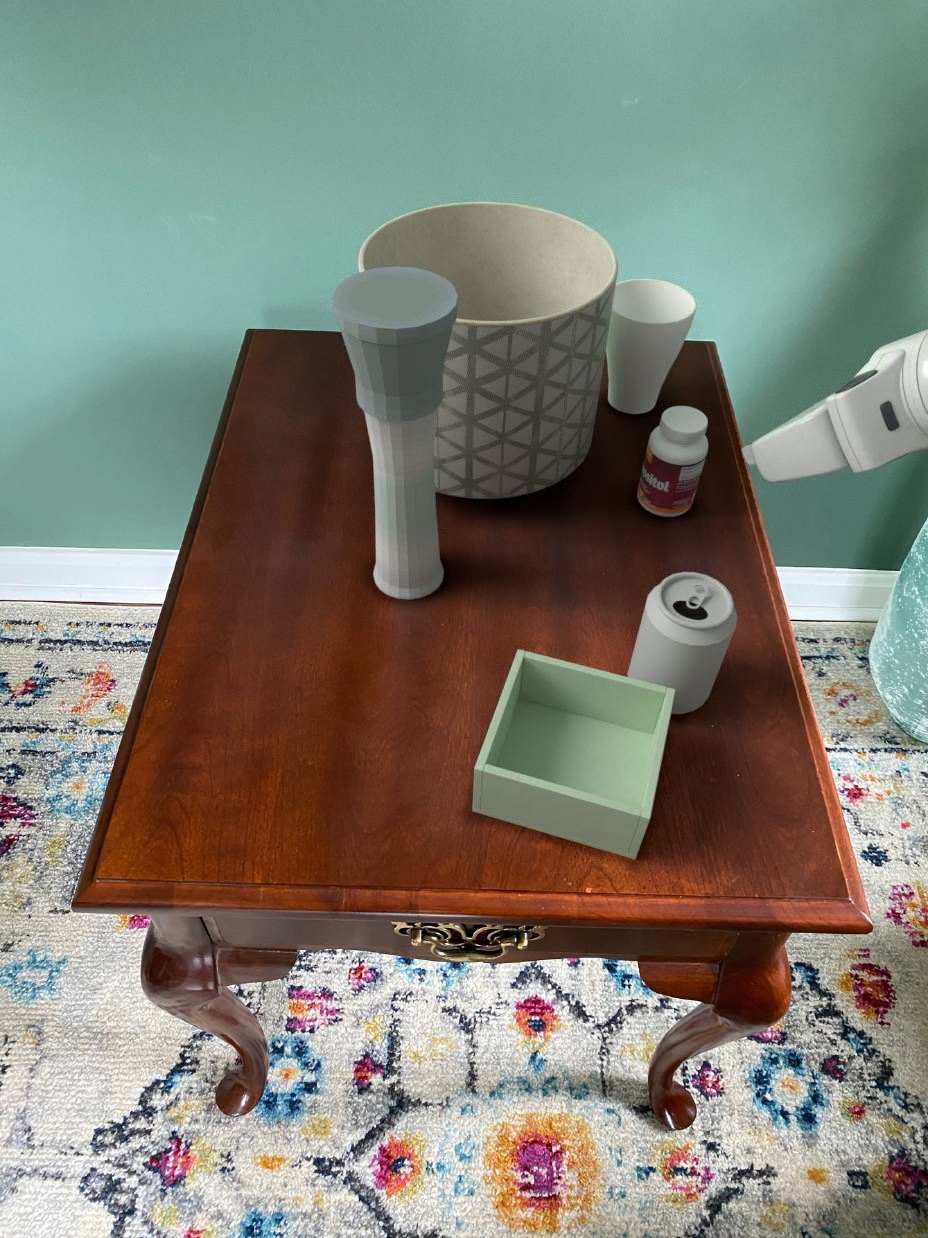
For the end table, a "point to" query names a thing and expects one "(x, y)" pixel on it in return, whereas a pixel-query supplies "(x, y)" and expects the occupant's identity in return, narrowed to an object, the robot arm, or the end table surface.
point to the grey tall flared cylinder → (400, 410)
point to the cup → (645, 340)
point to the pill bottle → (673, 462)
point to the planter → (510, 339)
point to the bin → (574, 753)
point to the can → (684, 637)
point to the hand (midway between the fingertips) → (781, 434)
